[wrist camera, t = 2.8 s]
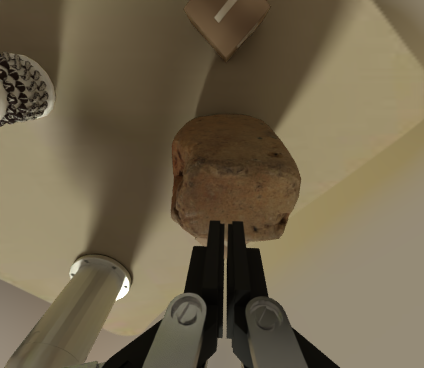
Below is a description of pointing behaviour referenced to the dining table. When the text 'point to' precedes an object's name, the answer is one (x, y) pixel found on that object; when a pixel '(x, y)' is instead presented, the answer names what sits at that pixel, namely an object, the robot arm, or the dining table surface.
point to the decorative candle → (23, 89)
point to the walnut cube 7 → (226, 21)
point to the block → (232, 177)
